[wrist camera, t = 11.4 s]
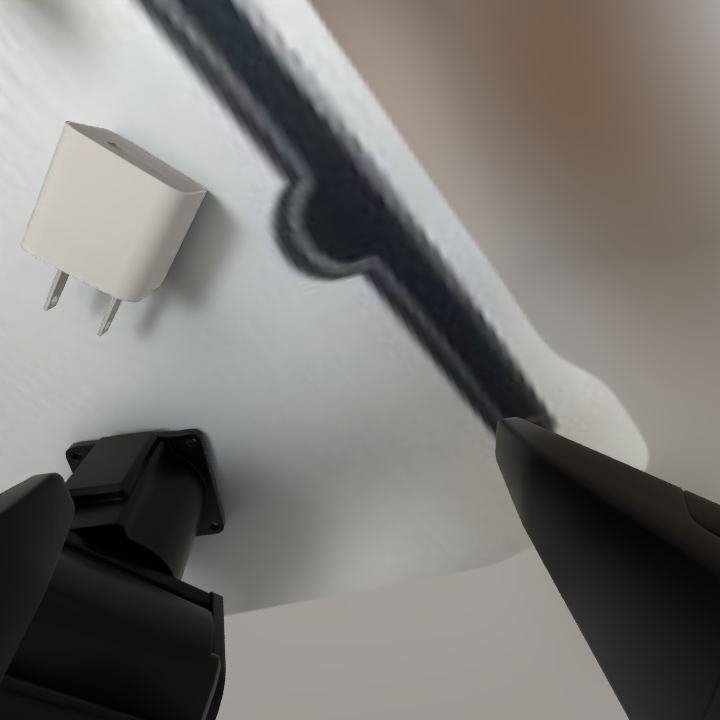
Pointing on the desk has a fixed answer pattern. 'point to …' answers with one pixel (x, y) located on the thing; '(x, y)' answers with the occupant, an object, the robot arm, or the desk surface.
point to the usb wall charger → (109, 216)
